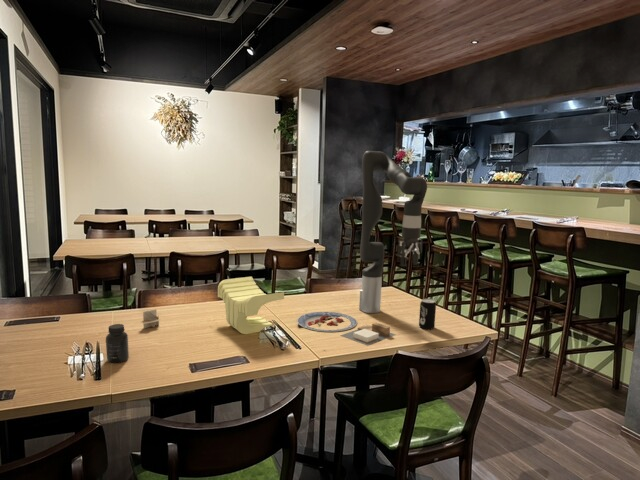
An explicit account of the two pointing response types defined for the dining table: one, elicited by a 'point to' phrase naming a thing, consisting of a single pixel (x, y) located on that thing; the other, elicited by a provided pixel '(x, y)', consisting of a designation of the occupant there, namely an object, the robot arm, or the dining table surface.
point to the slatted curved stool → (245, 303)
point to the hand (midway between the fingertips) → (409, 264)
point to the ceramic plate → (325, 316)
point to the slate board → (350, 336)
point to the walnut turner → (377, 329)
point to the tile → (365, 335)
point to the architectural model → (150, 318)
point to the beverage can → (427, 314)
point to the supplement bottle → (117, 344)
